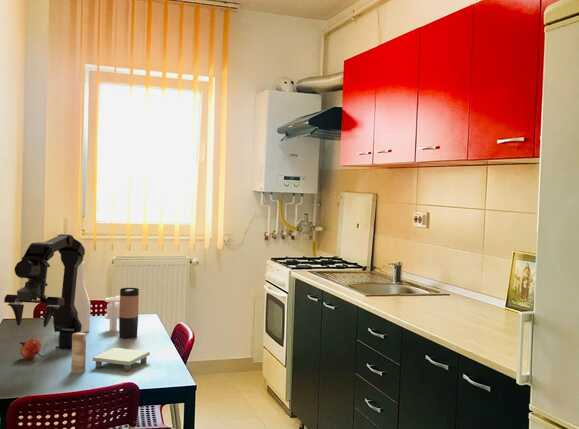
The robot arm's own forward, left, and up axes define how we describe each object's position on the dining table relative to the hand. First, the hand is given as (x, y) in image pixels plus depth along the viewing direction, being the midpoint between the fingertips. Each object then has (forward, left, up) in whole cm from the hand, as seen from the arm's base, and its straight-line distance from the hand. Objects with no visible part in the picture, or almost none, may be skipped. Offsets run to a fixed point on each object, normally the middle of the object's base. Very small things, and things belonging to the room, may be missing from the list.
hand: (31, 326), depth 203 cm
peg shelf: (-14, +26, -14) cm, 33 cm away
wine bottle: (-51, -17, -14) cm, 56 cm away
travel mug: (-51, +7, -14) cm, 53 cm away
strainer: (-59, -5, -14) cm, 61 cm away
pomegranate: (-9, -7, -14) cm, 18 cm away
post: (-2, +17, -14) cm, 22 cm away
